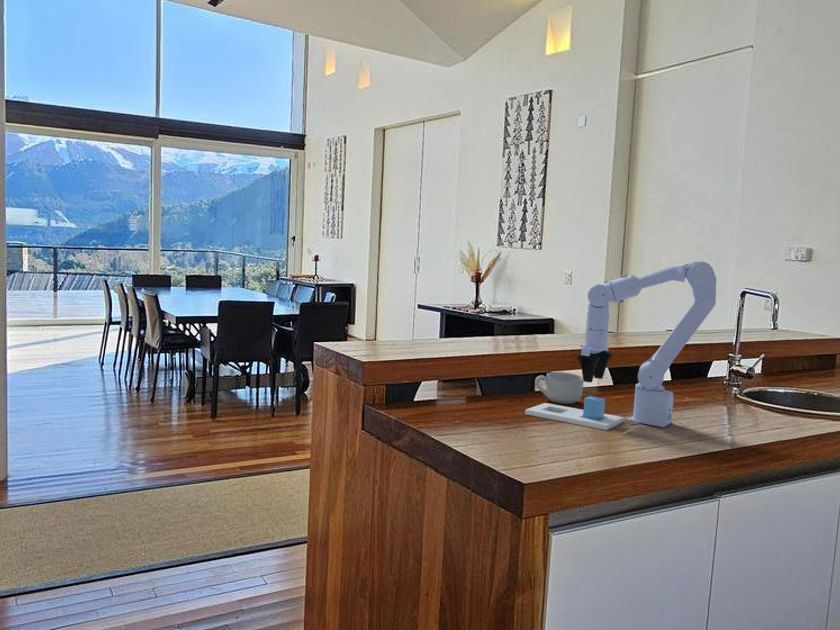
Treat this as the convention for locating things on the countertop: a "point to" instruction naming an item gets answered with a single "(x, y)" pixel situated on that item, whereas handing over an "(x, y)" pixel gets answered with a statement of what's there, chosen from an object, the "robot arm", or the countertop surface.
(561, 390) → the teacup
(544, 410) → the panel
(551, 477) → the countertop surface
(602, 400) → the plug
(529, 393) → the countertop surface
